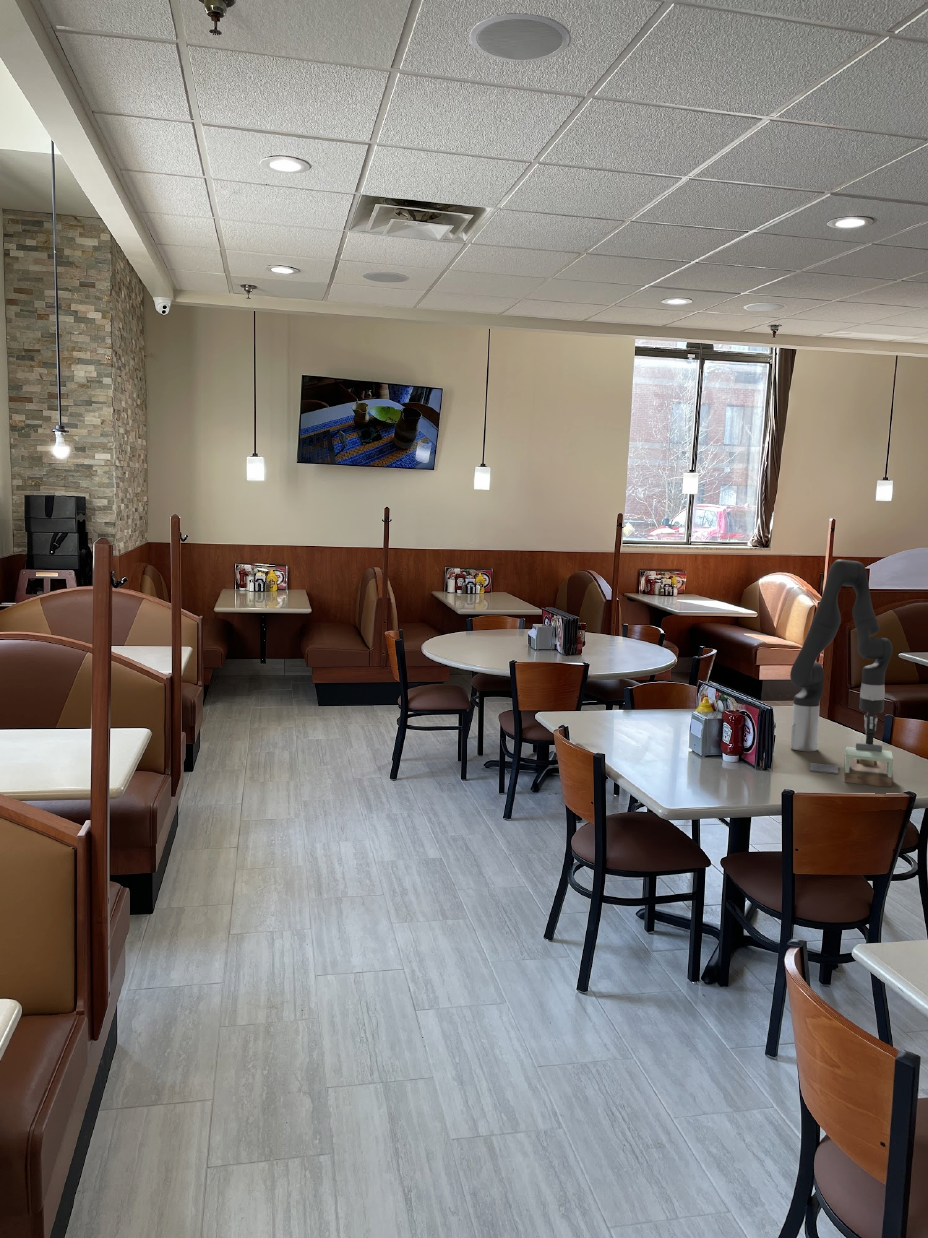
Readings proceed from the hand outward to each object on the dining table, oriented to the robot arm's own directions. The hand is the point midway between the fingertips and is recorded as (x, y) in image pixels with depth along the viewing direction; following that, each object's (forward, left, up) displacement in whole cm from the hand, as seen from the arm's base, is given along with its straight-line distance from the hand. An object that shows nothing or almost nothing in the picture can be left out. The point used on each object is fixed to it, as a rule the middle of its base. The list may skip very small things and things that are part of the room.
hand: (869, 747), depth 305 cm
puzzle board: (0, +2, -10) cm, 10 cm away
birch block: (0, +6, -9) cm, 11 cm away
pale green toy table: (0, -6, -7) cm, 9 cm away
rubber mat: (-14, +2, -10) cm, 17 cm away
